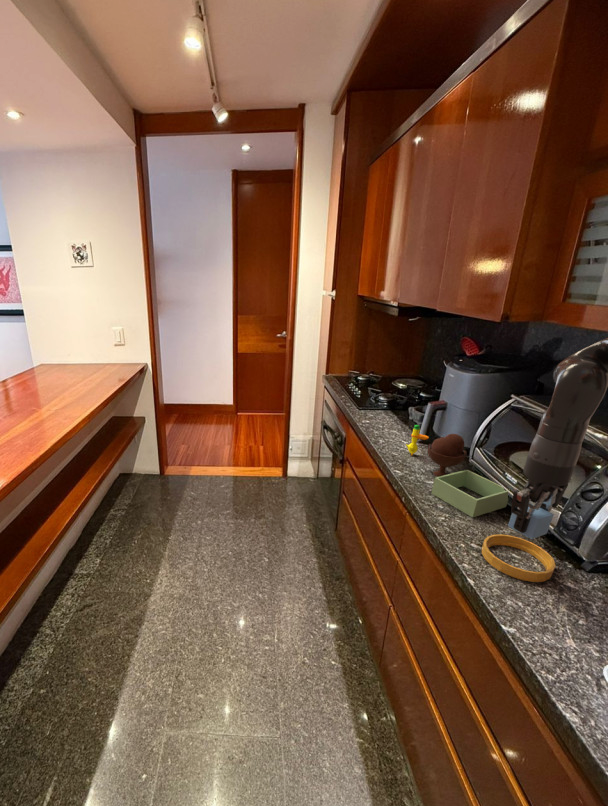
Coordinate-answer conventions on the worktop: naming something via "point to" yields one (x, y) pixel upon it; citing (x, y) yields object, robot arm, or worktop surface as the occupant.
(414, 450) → the toy figure
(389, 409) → the worktop surface
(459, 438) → the ice cream bowl
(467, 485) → the sage bin
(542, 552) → the wide orange band ring
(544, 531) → the toy block
